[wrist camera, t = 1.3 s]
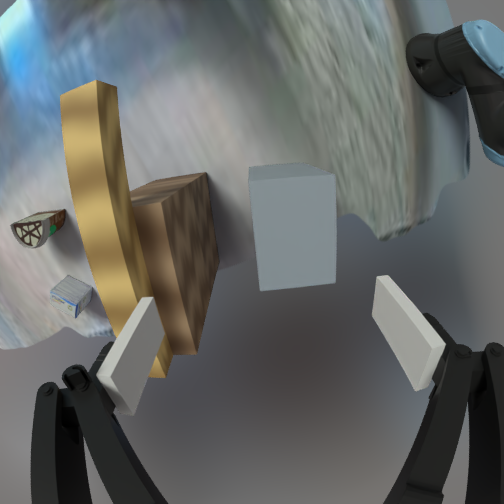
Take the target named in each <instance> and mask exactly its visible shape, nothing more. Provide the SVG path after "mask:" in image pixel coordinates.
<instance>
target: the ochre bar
mask: <svg viewBox="0 0 504 504" xmlns="http://www.w3.org/2000/svg"><path fill="white" fill-rule="evenodd" d="M60 105H61V121H62V133H63V142H64V151H65V158H66V165H67V172H68V178H69V183H70V189H71V194H72V199H73V204H74V209H75V213H76V217H77V222H78V226H79V230H80V234H81V237H82V241H83V245H84V248H85V252H86V255H87V259H88V262H89V265H90V268H91V272H92V275H93V278H94V281H95V284H96V287H97V289H98V292H99V295H100V298H101V301H102V303H103V306H104V309H105V311H106V314H107V316H108V319H109V321H110V324H111V326H112V329H113V331H114V333H115V336H116V338H117V337H118V336H119V334H120V332H121V331H122V329H123V327H124V326H125V324H126V322H127V321H128V319H129V318H130V316H131V314H132V313H133V311H134V309H135V308H136V306H137V305H138V303H139V302H140V300H141V298H142V297H154V294H153V290H152V287H151V283H150V279H149V276H148V272H147V268H146V264H145V260H144V256H143V252H142V248H141V244H140V240H139V235H138V231H137V226H136V222H135V217H134V212H133V207H132V202H131V197H130V191H129V186H128V180H127V174H126V167H125V161H124V154H123V146H122V138H121V130H120V120H119V110H118V97H117V87H116V86H113V85H110V84H107V83H104V82H101V81H98V80H95V81H92V82H90V83H87V84H85V85H83V86H80V87H78V88H76V89H73V90H71V91H69V92H67V93H64V94H62V95H60ZM154 300H155V297H154ZM155 304H156V300H155ZM156 307H157V304H156ZM157 310H158V307H157ZM158 314H159V310H158ZM159 317H160V314H159ZM160 320H161V317H160ZM161 323H162V320H161ZM162 326H163V323H162ZM163 329H164V326H163ZM164 332H165V329H164ZM172 357H173V353H172V350H171V347H170V344H169V341H168V338H167V335H166V332H165V335H164V337H163V340H162V342H161V345H160V347H159V350H158V352H157V355H156V358H155V360H154V363H153V365H152V368H151V371H150V373H149V376H148V377H155V378H156V377H157V378H166V376H167V373H168V370H169V366H170V363H171V360H172Z"/></svg>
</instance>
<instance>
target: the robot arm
mask: <svg viewBox="0 0 504 504" xmlns="http://www.w3.org/2000/svg"><path fill="white" fill-rule="evenodd" d="M406 59H407V63H408V66H409V69H410V71H411V73H412V75H413V76H414V78H415V79H416V81H417V82H418V83H419V84H420V85H421V86H422V87H423V88H424V89H425V90H426V91H428V92H429V93H431V94H433V95H435V96H439V97H445V96H451V95H454V94H456V93H457V92H458V91H460V90H461V89H462V88H463V87H465V86H466V89H467V92H468V95H469V98H470V101H471V105H472V108H473V112H474V115H475V119H476V123H477V128H478V132H479V137H480V140H481V142H482V146H483V150H484V153H485V155H486V156H487V158H488V159H489V160H491V161H492V162H493V163H495V164H497V165H500V166H503V167H504V33H503V32H502V31H501V30H500V29H499V28H498V27H497V26H495V25H494V24H492V23H490V22H488V21H486V20H476V21H471V22H465V23H464V24H462V25H460V26H457V27H455V28H453V29H450V30H448V31H445V32H443V33H441V34H429V33H423V34H419V35H417V36H415V37H413V38H412V39H411V40H410V41H409V42H408V44H407V47H406ZM372 316H373V318H374V320H375V321H376V323H377V325H378V326H379V328H380V330H381V331H382V333H383V335H384V336H385V338H386V340H387V341H388V343H389V345H390V347H391V348H392V350H393V352H394V354H395V355H396V357H397V359H398V361H399V362H400V364H401V366H402V368H403V369H404V372H405V373H406V375H407V377H408V379H409V381H410V382H411V384H412V386H413V388H414V390H415V391H418V390H421V389H424V388H427V387H428V386H429V384H430V382H431V380H432V379H433V381H434V383H435V386H434V388H433V390H432V392H431V394H430V396H429V399H430V400H429V404H428V406H427V409H426V412H425V415H424V418H423V421H422V423H421V426H420V429H419V431H418V434H417V436H416V439H415V441H414V444H413V446H412V448H411V451H410V453H409V455H408V458H407V459H406V462H405V464H404V466H403V468H402V470H401V472H400V474H399V476H398V478H397V480H396V482H395V484H394V486H393V487H392V489H391V491H390V493H389V494H388V496H387V498H386V500H385V501H384V503H383V504H442V501H443V497H444V495H443V494H442V489H443V486H444V484H445V481H446V478H447V476H448V473H449V470H450V467H451V464H452V461H453V458H454V455H455V451H456V448H457V445H458V441H459V437H460V433H461V429H462V425H463V421H464V416H465V412H466V407H467V402H468V412H469V445H470V446H469V469H468V483H467V492H466V500H465V504H504V347H503V346H502V345H500V344H498V343H494V342H493V343H489V344H487V346H486V348H485V350H484V351H482V352H481V351H480V352H472V350H471V349H470V348H469V347H467V346H465V345H461V344H456V343H455V341H454V340H453V339H452V338H451V337H450V335H449V334H448V333H447V332H446V331H445V329H443V327H442V326H441V325H440V324H439V322H438V321H437V320H436V319H435V317H433V316H431V315H430V314H428V313H424V314H421V313H420V311H419V310H418V309H417V308H416V307H415V306H414V304H413V303H412V302H411V301H410V300H409V298H408V297H407V296H406V295H405V294H404V293H403V292H402V290H401V289H400V288H399V287H398V286H397V285H396V284H395V283H394V282H393V280H392V279H391V278H390V277H389V276H388V275H386V276H378V277H377V279H376V288H375V297H374V304H373V311H372ZM164 335H165V332H164V329H163V326H162V323H161V320H160V317H159V314H158V310H157V307H156V304H155V300H154V297H142V298H141V300H140V302H139V303H138V305H137V306H136V308H135V309H134V311H133V313H132V314H131V316H130V318H129V319H128V321H127V322H126V324H125V326H124V327H123V329H122V331H121V332H120V334H119V336H118V337H117V339H116V341H115V342H109V343H108V344H107V345H105V346H104V347H103V349H102V350H101V352H100V354H99V356H98V357H97V359H96V361H95V362H94V364H93V365H92V367H91V369H90V371H89V372H87V370H86V369H85V367H84V366H82V365H73V366H70V367H69V368H67V369H66V370H65V371H64V372H63V375H62V380H63V382H64V383H65V385H66V386H67V388H64V389H59V388H58V386H57V385H56V383H54V382H47V383H44V384H43V385H42V386H41V387H40V388H39V389H38V392H37V397H36V403H35V411H34V419H33V430H32V442H31V495H32V496H31V497H32V504H92V499H91V494H90V488H89V483H88V476H87V468H86V460H85V452H84V439H83V435H84V438H85V441H86V444H87V446H88V449H89V451H90V454H91V456H92V459H93V461H94V464H95V466H96V468H97V471H98V473H99V475H100V477H101V480H102V482H103V483H104V486H105V488H106V490H107V492H108V494H109V496H110V498H111V500H112V502H113V504H168V502H167V501H166V500H165V498H164V497H163V496H162V494H161V493H160V492H159V490H158V488H157V487H156V486H155V484H154V483H153V481H152V480H151V478H150V477H149V475H148V473H147V472H146V470H145V469H144V467H143V465H142V464H141V462H140V460H139V459H138V457H137V455H136V454H135V452H134V450H133V448H132V447H131V445H130V443H129V441H128V439H127V437H126V436H125V434H124V432H123V430H122V428H121V426H120V424H119V422H118V420H117V418H116V416H115V414H114V413H113V411H114V409H115V407H116V408H117V409H118V411H119V412H120V414H126V415H134V414H135V411H136V408H137V406H138V403H139V400H140V397H141V394H142V391H143V389H144V386H145V384H146V381H147V378H148V376H149V373H150V371H151V368H152V365H153V363H154V360H155V358H156V355H157V352H158V350H159V347H160V345H161V342H162V340H163V337H164Z"/></svg>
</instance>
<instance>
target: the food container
mask: <svg viewBox="0 0 504 504" xmlns="http://www.w3.org/2000/svg"><path fill="white" fill-rule="evenodd" d="M64 221H65V209H59V210H51V211H44V212H38V213H36V214H33V215H31V216H29V217H26V218H24V219H22V220H20V221H18V222H14V223H13V224H11V225H10V226H11V229H12V232H13V234H14V236H15V238H16V239H17V241H18V242H19V243H20V244H21V245H22V246H24V247H26V248H37V247H40V246H42V245H43V244H44V243H45V242H46V240H47V239H48V237H49V236H51V235H52V234H53V233H55V232H56V231H57V230H59V229H60V228H61V227H62V225H63V224H64Z"/></svg>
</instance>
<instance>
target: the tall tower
mask: <svg viewBox="0 0 504 504" xmlns="http://www.w3.org/2000/svg"><path fill="white" fill-rule="evenodd" d="M130 197H131V202H132V207H133V212H134V217H135V222H136V226H137V231H138V235H139V240H140V244H141V248H142V252H143V256H144V260H145V264H146V268H147V272H148V276H149V279H150V283H151V287H152V290H153V294H154V297H155V300H156V304H157V307H158V310H159V314H160V317H161V320H162V323H163V326H164V329H165V332H166V335H167V338H168V341H169V344H170V347H171V350H172V353H173V355H191V354H197V352H198V348H199V343H200V339H201V334H202V330H203V325H204V322H205V317H206V313H207V309H208V305H209V300H210V297H211V292H212V288H213V284H214V280H215V276H216V272H217V268H218V264H219V257H218V250H217V244H216V237H215V231H214V224H213V217H212V210H211V203H210V196H209V189H208V182H207V174H206V172H204V173H197V174H190V175H183V176H177V177H171V178H165V179H159V180H155V181H153V182H150V183H148V184H146V185H143V186H141V187H139V188H137V189H135V190H132V191H130Z"/></svg>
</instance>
